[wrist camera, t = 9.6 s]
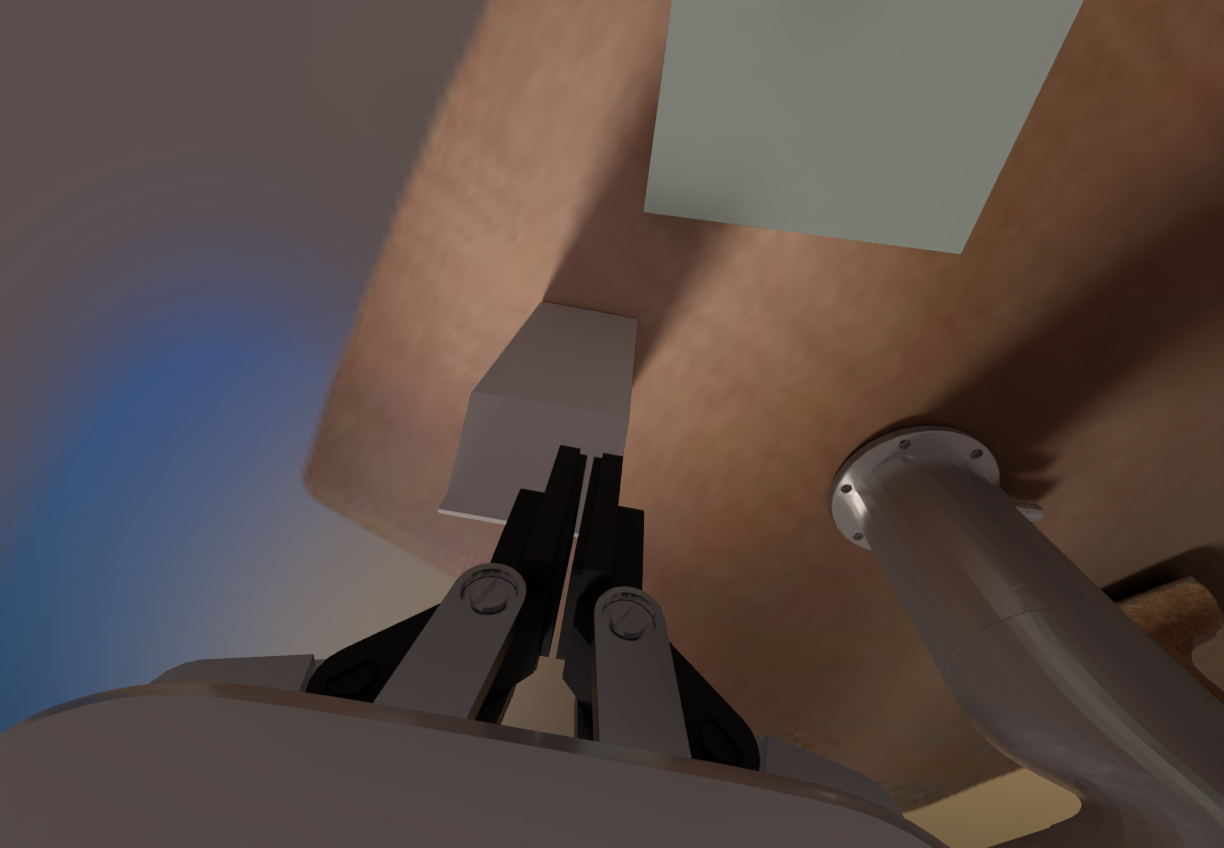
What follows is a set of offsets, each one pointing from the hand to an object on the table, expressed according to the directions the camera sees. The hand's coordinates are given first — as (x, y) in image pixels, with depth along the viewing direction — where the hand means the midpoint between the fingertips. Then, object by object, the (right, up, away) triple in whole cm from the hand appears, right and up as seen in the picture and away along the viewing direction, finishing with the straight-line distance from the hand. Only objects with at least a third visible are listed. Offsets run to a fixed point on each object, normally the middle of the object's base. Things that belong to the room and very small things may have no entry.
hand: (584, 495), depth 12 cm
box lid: (+11, +18, +7) cm, 23 cm away
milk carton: (-1, +7, +23) cm, 24 cm away
